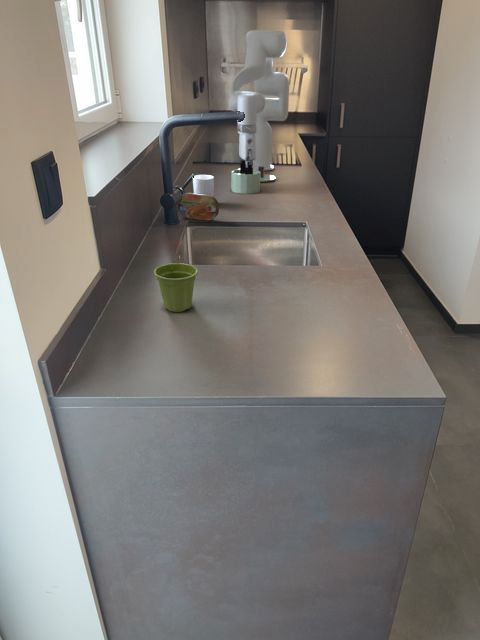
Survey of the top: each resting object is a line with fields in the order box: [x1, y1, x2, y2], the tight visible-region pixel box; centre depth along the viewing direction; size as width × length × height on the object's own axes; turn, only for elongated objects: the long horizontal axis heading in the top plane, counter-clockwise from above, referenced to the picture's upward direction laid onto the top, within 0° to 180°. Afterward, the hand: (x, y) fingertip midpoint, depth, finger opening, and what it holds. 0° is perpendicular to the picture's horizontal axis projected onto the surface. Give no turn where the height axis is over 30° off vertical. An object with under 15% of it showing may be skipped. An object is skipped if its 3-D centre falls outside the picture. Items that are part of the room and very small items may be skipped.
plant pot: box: [153, 262, 199, 313], centre depth 110 cm, size 9×9×9 cm
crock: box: [230, 168, 261, 195], centre depth 206 cm, size 12×12×8 cm
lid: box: [258, 166, 276, 183], centre depth 225 cm, size 13×13×6 cm
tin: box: [176, 192, 220, 222], centre depth 169 cm, size 15×3×8 cm, turn 70°
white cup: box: [192, 174, 215, 197], centre depth 185 cm, size 8×8×10 cm
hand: (246, 174), depth 205 cm, fingers open, 7 cm apart
